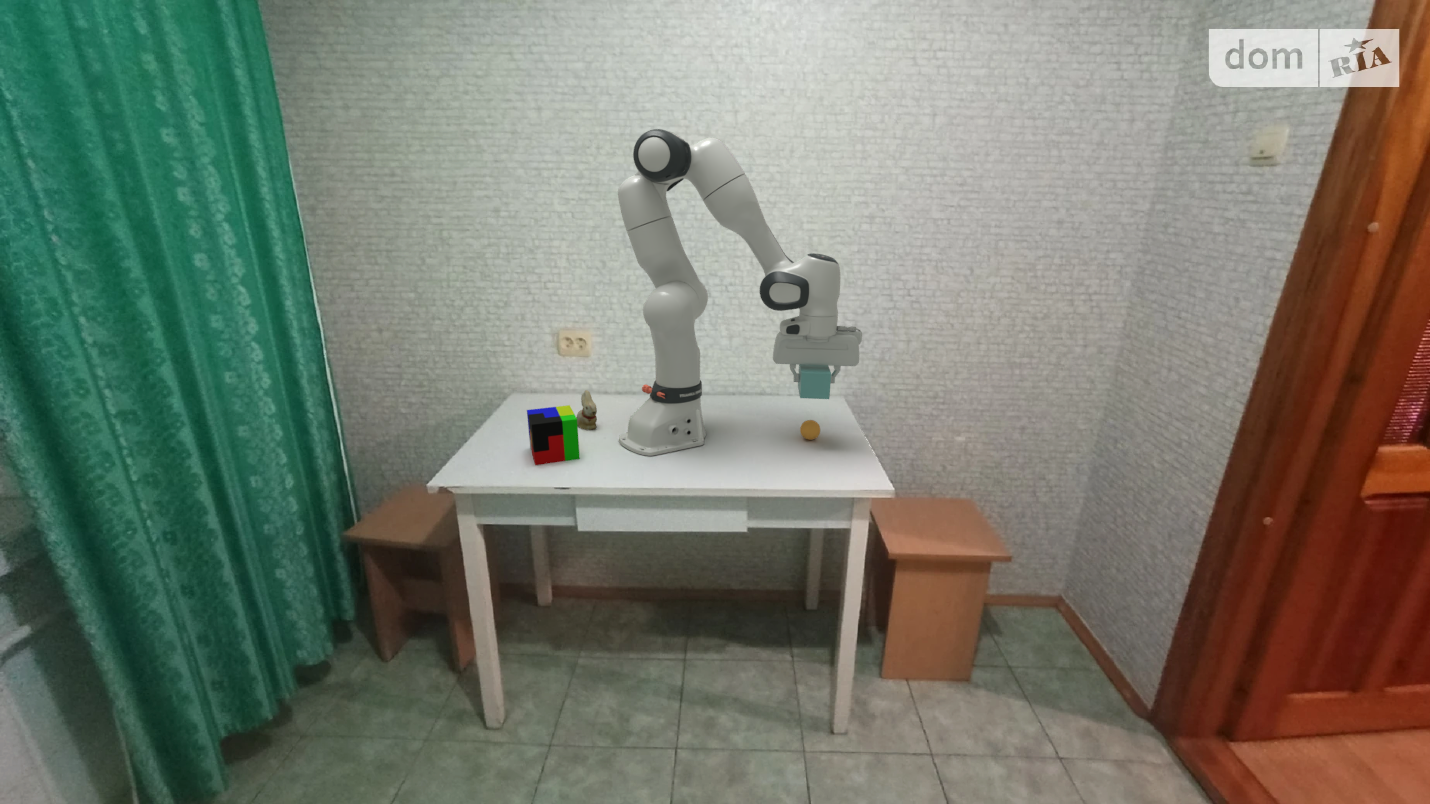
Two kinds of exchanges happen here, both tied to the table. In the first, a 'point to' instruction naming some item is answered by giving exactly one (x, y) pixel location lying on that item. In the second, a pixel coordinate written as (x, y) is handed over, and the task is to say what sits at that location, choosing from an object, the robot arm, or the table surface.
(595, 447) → the table surface
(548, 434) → the puzzle toy
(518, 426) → the table surface
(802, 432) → the ball
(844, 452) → the table surface
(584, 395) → the chocolate bunny
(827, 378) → the teal rectangular box
